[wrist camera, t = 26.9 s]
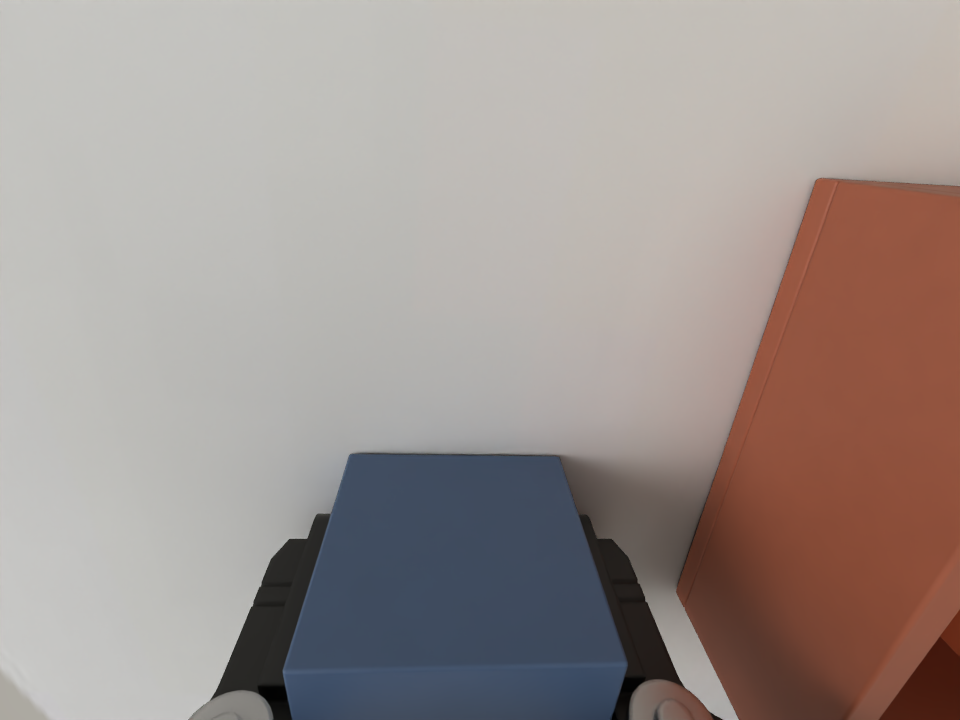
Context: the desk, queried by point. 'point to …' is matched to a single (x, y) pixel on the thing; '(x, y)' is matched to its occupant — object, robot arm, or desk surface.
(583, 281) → the desk surface
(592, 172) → the desk surface
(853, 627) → the terracotta bin
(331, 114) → the desk surface
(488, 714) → the slate block
